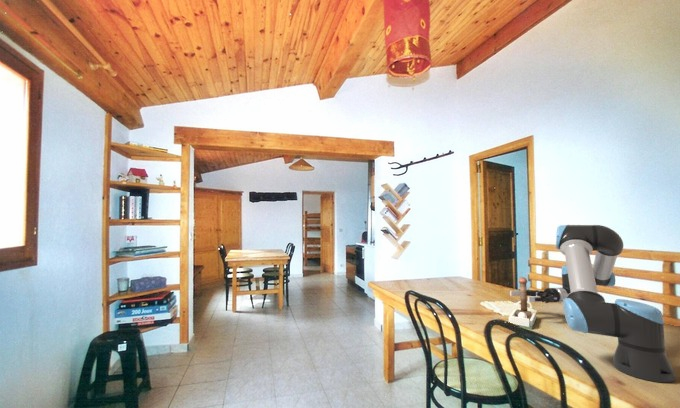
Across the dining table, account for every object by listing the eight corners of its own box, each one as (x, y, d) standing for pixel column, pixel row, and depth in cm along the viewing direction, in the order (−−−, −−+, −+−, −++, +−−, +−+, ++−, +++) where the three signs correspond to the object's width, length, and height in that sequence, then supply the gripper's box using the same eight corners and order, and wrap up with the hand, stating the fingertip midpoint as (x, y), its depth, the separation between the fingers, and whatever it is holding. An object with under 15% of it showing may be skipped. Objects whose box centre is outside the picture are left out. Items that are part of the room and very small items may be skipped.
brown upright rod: (531, 318, 157) (529, 278, 159) (516, 316, 161) (514, 277, 163) (532, 316, 161) (530, 277, 163) (517, 314, 165) (516, 276, 167)
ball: (526, 321, 153) (526, 313, 154) (517, 320, 156) (517, 312, 156) (527, 319, 157) (527, 312, 157) (518, 318, 159) (518, 310, 159)
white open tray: (531, 329, 145) (531, 319, 146) (508, 325, 151) (507, 316, 152) (536, 319, 161) (535, 310, 161) (514, 315, 167) (514, 307, 167)
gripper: (575, 308, 152) (537, 309, 150) (537, 296, 177) (504, 297, 174) (574, 293, 153) (536, 294, 150) (537, 283, 177) (503, 284, 175)
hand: (519, 296), depth 162 cm, fingers open, 13 cm apart
